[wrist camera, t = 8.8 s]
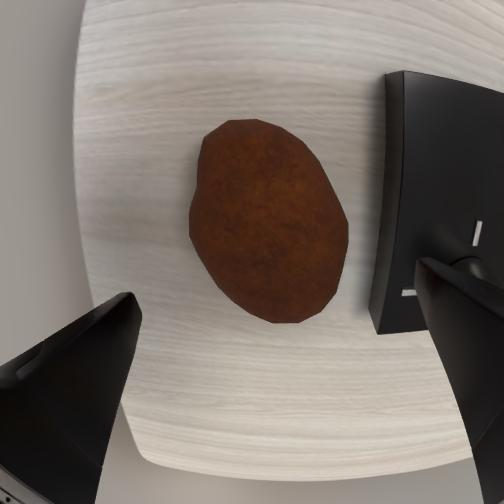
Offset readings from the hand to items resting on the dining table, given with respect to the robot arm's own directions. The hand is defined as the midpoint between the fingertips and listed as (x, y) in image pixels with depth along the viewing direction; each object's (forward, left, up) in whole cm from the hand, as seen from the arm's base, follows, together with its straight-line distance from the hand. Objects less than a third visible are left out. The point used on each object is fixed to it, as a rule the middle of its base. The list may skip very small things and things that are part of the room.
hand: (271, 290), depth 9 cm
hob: (0, +11, -8) cm, 13 cm away
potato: (0, 0, -8) cm, 8 cm away
